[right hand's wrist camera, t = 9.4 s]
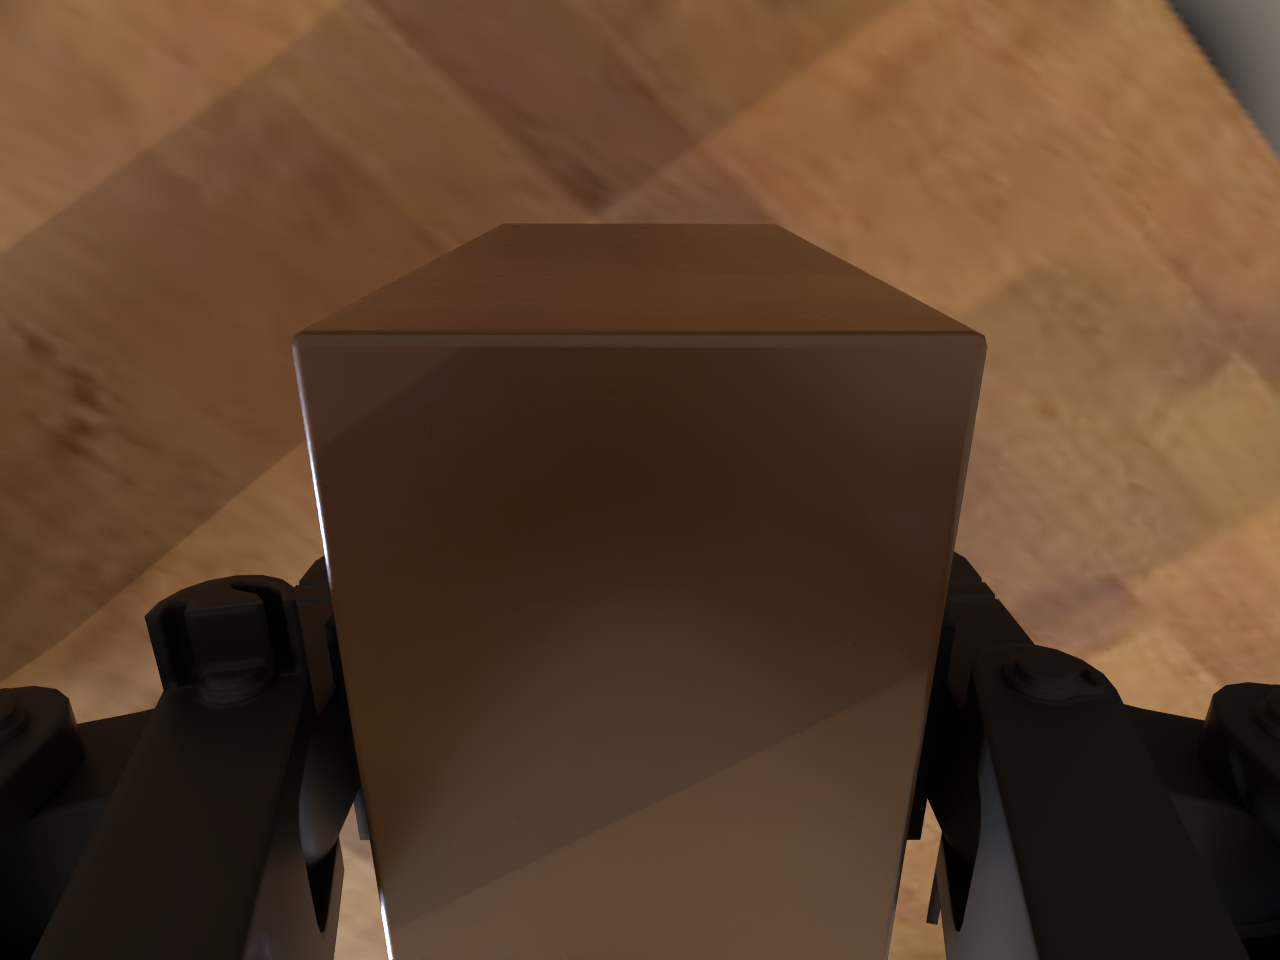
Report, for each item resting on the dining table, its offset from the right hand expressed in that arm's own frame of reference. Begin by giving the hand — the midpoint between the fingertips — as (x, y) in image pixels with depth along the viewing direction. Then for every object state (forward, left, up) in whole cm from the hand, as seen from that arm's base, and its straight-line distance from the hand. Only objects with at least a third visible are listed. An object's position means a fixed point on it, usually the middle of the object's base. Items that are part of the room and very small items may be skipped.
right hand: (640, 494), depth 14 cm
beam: (-11, -20, -1) cm, 23 cm away
